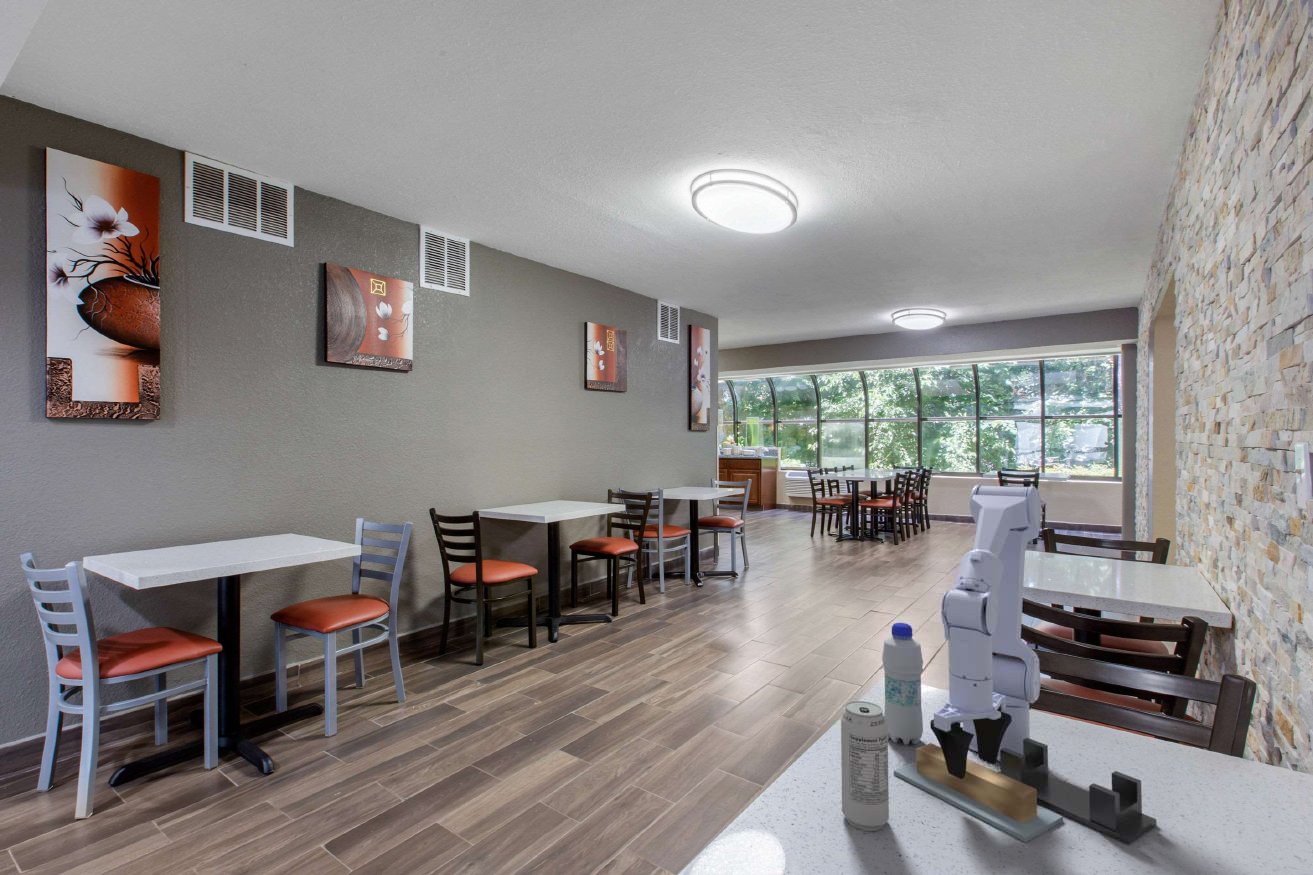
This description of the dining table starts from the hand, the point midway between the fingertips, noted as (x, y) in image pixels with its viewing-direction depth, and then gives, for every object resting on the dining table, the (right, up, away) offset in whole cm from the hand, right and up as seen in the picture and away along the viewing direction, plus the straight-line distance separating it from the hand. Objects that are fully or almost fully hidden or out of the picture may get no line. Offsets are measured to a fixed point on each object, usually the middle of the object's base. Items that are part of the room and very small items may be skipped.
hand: (972, 768), depth 91 cm
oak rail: (0, -3, 0) cm, 3 cm away
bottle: (-3, -5, +18) cm, 19 cm away
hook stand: (+13, -4, -2) cm, 13 cm away
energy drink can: (-18, -4, -6) cm, 19 cm away
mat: (0, -4, 0) cm, 4 cm away
